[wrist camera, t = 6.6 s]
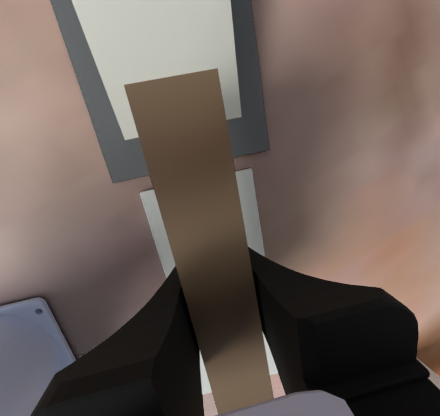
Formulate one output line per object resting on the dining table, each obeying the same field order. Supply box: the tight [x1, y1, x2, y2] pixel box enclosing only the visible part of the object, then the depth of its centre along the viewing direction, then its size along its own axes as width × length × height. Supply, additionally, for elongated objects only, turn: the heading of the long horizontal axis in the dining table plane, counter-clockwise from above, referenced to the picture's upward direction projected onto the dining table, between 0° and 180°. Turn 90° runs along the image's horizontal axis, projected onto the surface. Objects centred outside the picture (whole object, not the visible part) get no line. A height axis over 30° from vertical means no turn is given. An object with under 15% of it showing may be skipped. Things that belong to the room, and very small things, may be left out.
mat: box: [50, 0, 270, 183], centre depth 14 cm, size 11×11×1 cm
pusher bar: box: [124, 68, 274, 415], centre depth 10 cm, size 16×2×5 cm, turn 11°
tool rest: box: [139, 168, 278, 395], centre depth 19 cm, size 20×8×1 cm, turn 11°
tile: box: [72, 0, 242, 140], centre depth 12 cm, size 2×7×8 cm
